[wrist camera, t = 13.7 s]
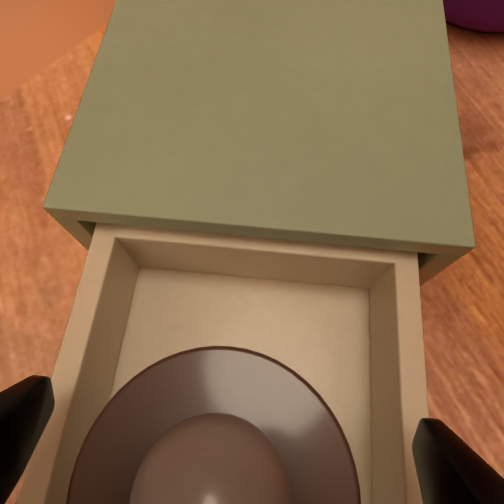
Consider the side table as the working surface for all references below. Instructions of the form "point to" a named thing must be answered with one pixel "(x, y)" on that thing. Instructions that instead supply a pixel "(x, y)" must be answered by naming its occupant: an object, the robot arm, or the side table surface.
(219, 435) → the pepper mill
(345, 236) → the cabinet
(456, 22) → the mug
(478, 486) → the robot arm
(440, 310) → the side table surface
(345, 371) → the drawer
